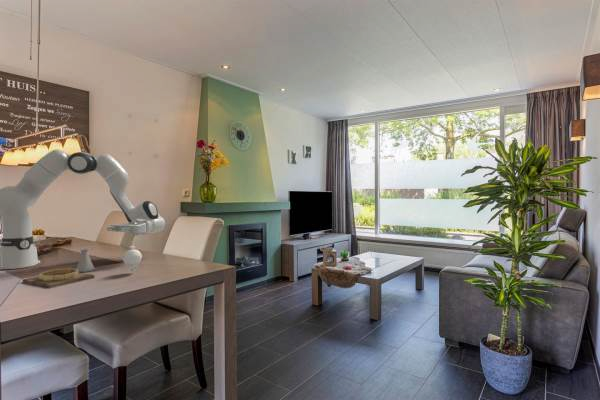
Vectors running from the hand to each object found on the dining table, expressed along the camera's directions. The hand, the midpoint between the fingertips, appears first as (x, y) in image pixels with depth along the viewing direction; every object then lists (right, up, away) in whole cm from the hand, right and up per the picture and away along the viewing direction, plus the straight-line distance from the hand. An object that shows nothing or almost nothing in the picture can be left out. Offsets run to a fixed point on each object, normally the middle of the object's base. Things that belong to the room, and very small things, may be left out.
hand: (114, 229), depth 169 cm
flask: (-6, -18, -13) cm, 23 cm away
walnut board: (-7, -18, -29) cm, 35 cm away
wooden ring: (-7, -17, -29) cm, 35 cm away
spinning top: (+18, -18, -18) cm, 31 cm away
